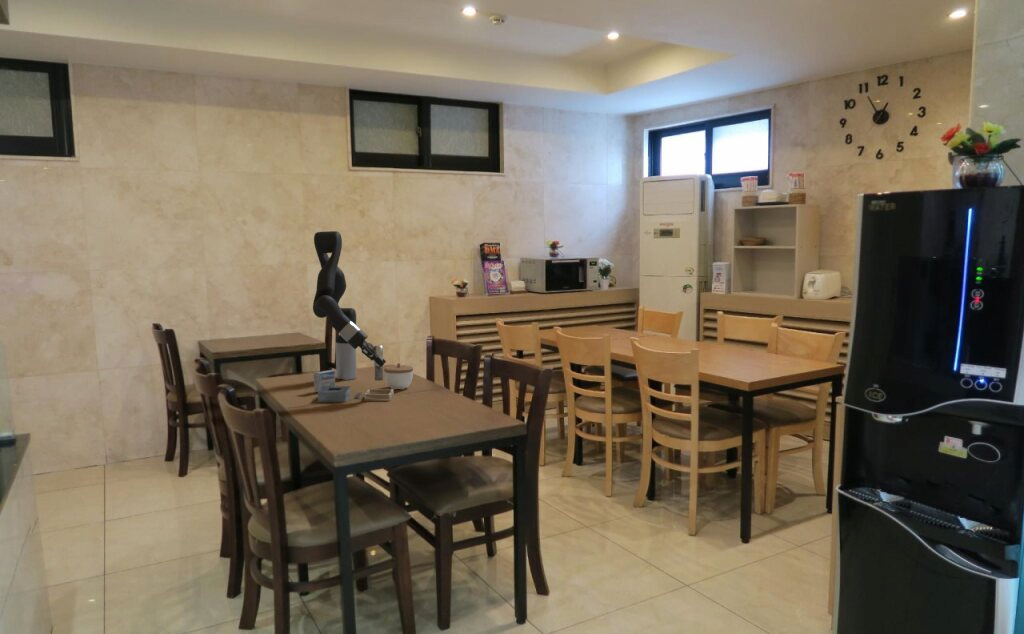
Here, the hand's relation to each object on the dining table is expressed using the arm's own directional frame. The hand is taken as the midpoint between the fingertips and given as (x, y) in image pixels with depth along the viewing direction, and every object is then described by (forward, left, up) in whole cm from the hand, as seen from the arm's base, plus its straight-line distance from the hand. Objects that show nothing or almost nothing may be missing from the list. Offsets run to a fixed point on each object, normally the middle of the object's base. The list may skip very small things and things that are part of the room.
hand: (383, 364), depth 277 cm
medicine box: (-13, -27, -14) cm, 33 cm away
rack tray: (0, -2, -14) cm, 14 cm away
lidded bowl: (-19, +4, -14) cm, 24 cm away
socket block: (+1, -20, -14) cm, 24 cm away
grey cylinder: (0, -2, -7) cm, 7 cm away
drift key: (-3, -11, -15) cm, 18 cm away
